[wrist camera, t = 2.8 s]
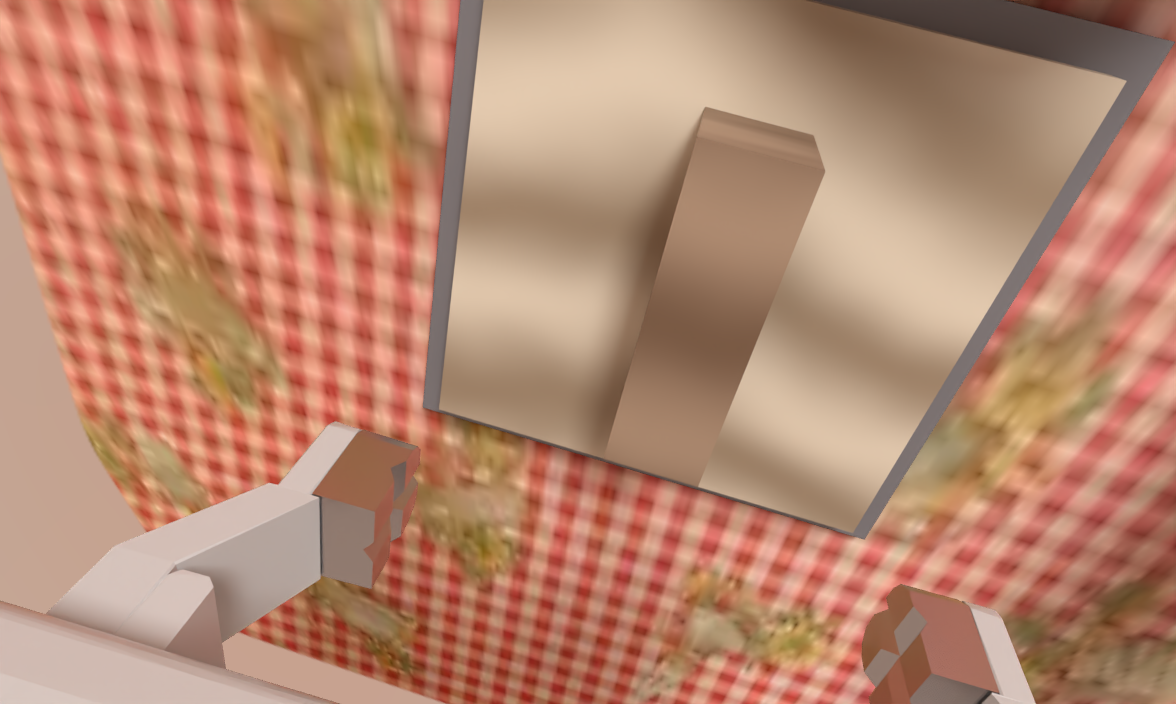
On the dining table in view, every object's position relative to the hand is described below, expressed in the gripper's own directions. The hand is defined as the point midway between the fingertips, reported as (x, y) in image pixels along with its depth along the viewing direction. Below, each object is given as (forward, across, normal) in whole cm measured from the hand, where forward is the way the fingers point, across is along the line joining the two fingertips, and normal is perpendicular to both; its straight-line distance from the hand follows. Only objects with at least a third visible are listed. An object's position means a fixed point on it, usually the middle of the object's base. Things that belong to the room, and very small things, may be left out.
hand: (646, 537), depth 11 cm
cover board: (+12, -1, 0) cm, 12 cm away
